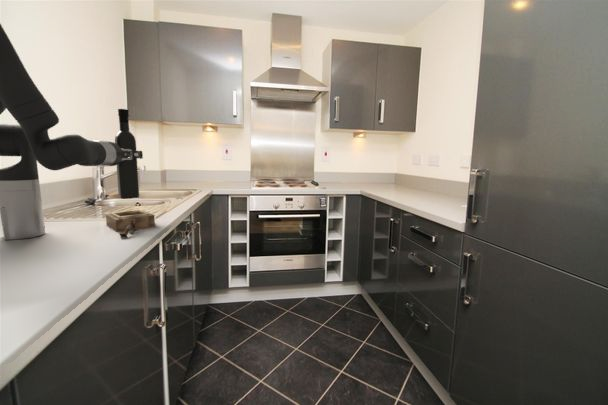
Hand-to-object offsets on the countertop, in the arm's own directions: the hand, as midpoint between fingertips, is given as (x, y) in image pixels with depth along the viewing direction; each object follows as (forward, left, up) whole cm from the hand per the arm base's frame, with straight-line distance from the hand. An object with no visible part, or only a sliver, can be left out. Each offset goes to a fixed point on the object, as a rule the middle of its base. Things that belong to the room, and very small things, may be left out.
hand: (128, 154), depth 102 cm
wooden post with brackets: (-6, -14, -25) cm, 30 cm away
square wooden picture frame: (-1, -2, -25) cm, 25 cm away
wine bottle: (-1, -2, -15) cm, 15 cm away
